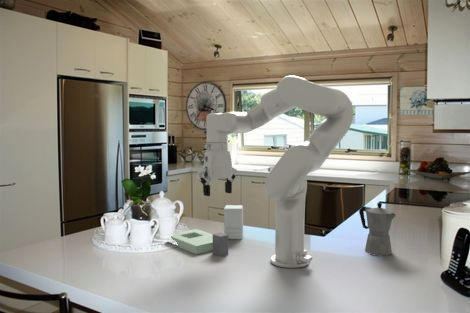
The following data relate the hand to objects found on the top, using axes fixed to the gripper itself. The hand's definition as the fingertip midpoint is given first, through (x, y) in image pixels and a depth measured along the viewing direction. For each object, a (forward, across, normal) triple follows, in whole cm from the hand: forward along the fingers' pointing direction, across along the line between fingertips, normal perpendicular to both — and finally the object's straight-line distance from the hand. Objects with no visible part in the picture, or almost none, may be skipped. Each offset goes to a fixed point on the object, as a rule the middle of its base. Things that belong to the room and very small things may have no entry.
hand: (217, 194), depth 151 cm
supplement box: (+21, +15, +10) cm, 27 cm away
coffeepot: (+21, +44, -37) cm, 61 cm away
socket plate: (+20, -3, +10) cm, 23 cm away
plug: (+21, -2, -4) cm, 21 cm away
